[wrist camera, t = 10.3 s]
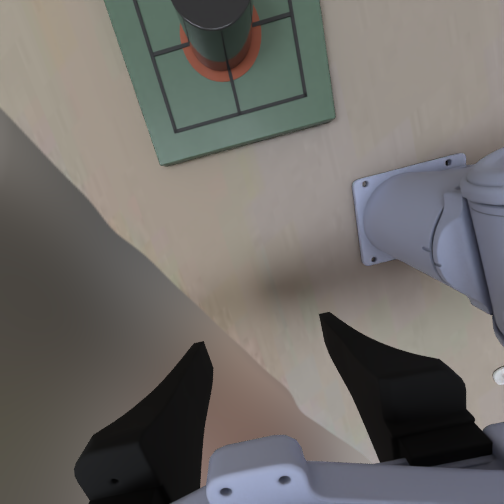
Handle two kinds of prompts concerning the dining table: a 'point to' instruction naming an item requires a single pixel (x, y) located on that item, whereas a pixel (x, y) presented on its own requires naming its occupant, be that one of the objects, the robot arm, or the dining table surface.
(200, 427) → the robot arm
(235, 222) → the dining table surface
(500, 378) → the game piece set
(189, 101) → the board
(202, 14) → the dark grey canister
